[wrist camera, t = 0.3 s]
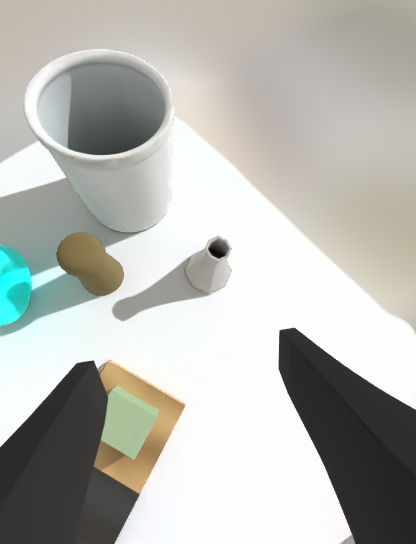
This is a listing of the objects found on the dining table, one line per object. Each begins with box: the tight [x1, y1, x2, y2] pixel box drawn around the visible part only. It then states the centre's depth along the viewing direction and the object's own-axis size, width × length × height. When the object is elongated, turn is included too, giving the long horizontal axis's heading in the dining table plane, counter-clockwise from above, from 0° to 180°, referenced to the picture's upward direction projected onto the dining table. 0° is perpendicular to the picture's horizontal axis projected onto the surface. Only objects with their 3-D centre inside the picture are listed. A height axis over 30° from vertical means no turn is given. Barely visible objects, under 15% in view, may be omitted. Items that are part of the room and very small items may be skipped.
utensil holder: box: [24, 49, 174, 232], centre depth 35 cm, size 15×15×18 cm
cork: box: [56, 232, 124, 295], centre depth 34 cm, size 6×6×11 cm
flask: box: [184, 236, 232, 294], centre depth 36 cm, size 7×7×10 cm
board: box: [76, 360, 185, 544], centre depth 32 cm, size 20×12×1 cm, turn 151°
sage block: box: [101, 385, 159, 460], centre depth 32 cm, size 5×6×4 cm
